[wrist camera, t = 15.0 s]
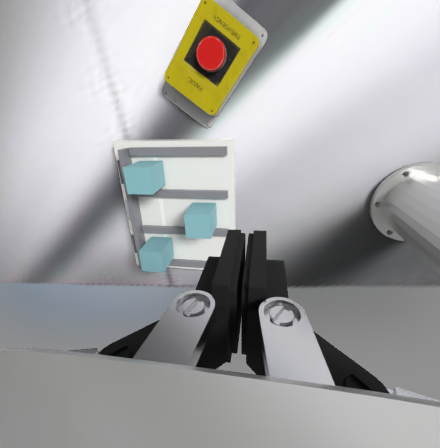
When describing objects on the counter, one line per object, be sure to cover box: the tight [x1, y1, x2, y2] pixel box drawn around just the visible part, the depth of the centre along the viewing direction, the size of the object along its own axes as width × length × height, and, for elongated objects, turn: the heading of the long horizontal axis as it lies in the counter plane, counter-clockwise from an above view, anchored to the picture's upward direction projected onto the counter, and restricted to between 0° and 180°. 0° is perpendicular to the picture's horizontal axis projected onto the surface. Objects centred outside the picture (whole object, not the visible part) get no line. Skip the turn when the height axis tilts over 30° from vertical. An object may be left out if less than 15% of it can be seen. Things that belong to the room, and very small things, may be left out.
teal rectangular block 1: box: [123, 161, 166, 195], centre depth 39 cm, size 4×4×6 cm
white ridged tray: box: [113, 139, 236, 270], centre depth 44 cm, size 20×24×4 cm
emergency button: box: [163, 0, 267, 128], centre depth 35 cm, size 9×4×15 cm
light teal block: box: [184, 202, 217, 239], centre depth 41 cm, size 4×4×6 cm
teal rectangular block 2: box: [138, 236, 174, 273], centre depth 45 cm, size 4×4×6 cm
